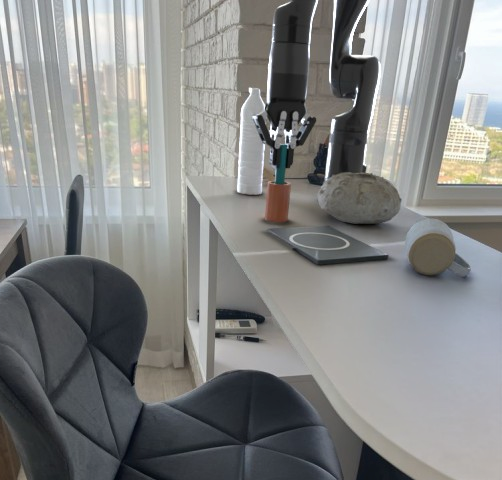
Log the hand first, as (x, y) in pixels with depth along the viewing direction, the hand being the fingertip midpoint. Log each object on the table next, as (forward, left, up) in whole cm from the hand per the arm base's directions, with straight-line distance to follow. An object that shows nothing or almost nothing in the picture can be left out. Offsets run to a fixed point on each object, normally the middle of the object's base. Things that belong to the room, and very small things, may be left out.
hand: (280, 167), depth 102 cm
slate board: (-1, +18, -11) cm, 21 cm away
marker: (0, 0, -9) cm, 9 cm away
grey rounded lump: (-18, +3, -11) cm, 21 cm away
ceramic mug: (-12, +35, -11) cm, 39 cm away
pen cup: (0, 0, -11) cm, 11 cm away
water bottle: (-7, -31, -11) cm, 34 cm away
